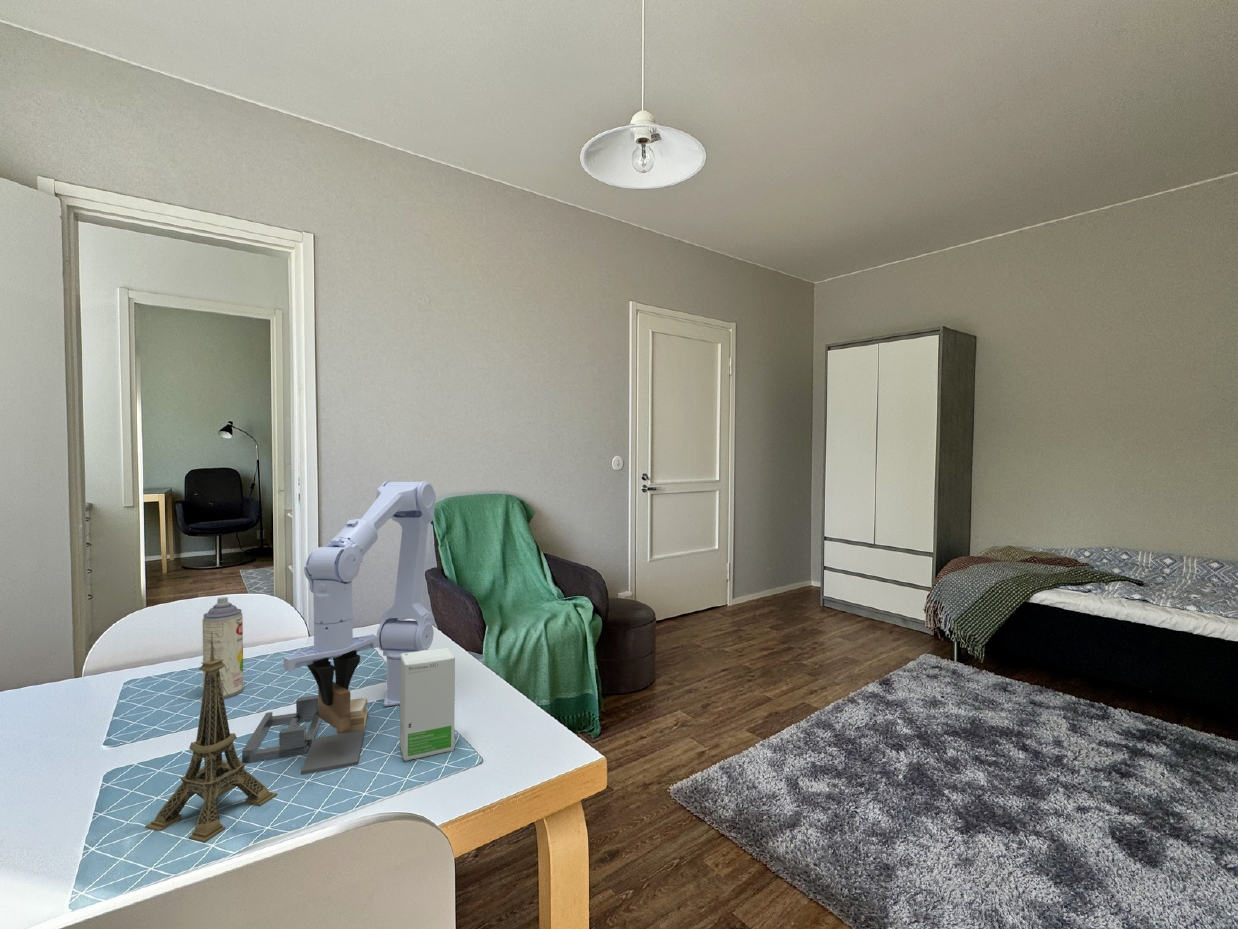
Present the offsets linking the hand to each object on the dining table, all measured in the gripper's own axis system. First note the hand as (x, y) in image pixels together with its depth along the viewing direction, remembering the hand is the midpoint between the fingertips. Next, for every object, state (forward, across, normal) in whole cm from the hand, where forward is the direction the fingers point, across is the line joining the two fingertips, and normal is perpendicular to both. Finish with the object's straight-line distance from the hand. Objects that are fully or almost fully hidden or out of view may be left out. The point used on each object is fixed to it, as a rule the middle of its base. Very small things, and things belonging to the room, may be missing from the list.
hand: (334, 701), depth 93 cm
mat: (+8, 0, 0) cm, 8 cm away
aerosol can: (+9, +4, -43) cm, 44 cm away
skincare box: (+9, -10, +11) cm, 17 cm away
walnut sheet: (+3, 0, 0) cm, 4 cm away
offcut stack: (+8, -7, -8) cm, 13 cm away
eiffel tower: (+9, +18, +3) cm, 20 cm away
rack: (+8, +3, -12) cm, 15 cm away
